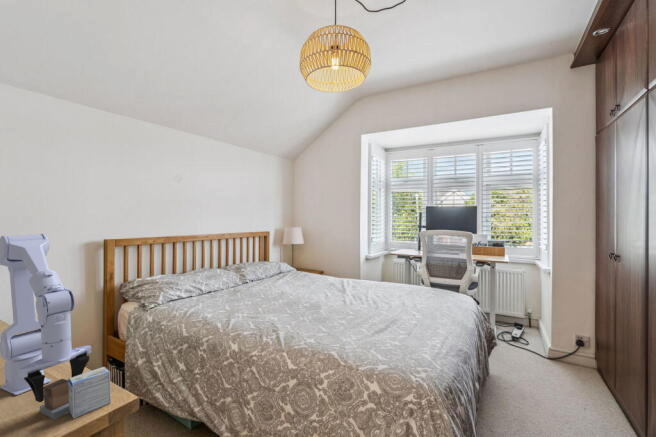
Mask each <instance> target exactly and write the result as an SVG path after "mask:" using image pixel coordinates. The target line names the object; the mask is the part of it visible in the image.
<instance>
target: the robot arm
mask: <svg viewBox="0 0 656 437" xmlns="http://www.w3.org/2000/svg"><path fill="white" fill-rule="evenodd" d="M49 250H50V239H49V237H48V236H47V234H45V233H38V234H21V235H1V236H0V266H3V267H7V269H8V274H9V282H10V294H11V305H12V321H13V323H12V324H11V325H9V326H8V327H6V329H4V330H3V331H2V332H1V334H0V356H1V358H2V359H3V360H5V363H4V385H2V386H1V385H0V389H2V390H4V391H5V392H8V393H10V394H12V395H15V396H18V395H20V394H23V393H25V392H28V391H30V390H31V391H32V393H33V395H34V396H33V397H34V399H35V401H36V402H38V403H42V402H44V390H43V387H44V386H45V385H47V384H48V383H50V382H51V380H52V379H51V378H48V377H46V375H45V373H44V372H45V371H44V370H47V369H49V368H51V367H56V365H59V364H64V363H67V362H69V364H70V369H71V371H70V372H71V378H72V377H75V376H78V375H80V374H83V373H84V371H85V368H86V367H87V365H88V362H90V356H89V355H90V354H91V353H92V346H91V345H88V344H86V345H83V346H78V347H75V348H73V347H72V324H71V323H72V320H71V319H72V318H71V317H72V316H71V312H72V311H73V310H74V309H75V304H76V303H75V296H74V293H73V291H72V290H71V289H70V288H68V287H67V286H64V284H63V283H62V281H61V279H60V276H59V274H58V273H57V271H55V270H52V269H50V267H49V263H48V260H47V257H46V256H47V255H48V252H49ZM36 314H37V319H36Z"/></svg>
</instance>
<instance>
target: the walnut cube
mask: <svg viewBox="0 0 656 437" xmlns="http://www.w3.org/2000/svg"><path fill="white" fill-rule="evenodd" d="M43 391H44V401H43V402H44V403H43V404H45V407H48V408H50V409H53V410H54V409H56V408H58V407H60V406H62V405H64V404H66V403H68V402H69V392H68V379H65V378H60V379H58V380H56V381H54V382H53V381H52V382H51V383H49V384H48V383H47V384H45V385H44V386H43Z"/></svg>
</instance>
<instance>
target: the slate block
mask: <svg viewBox="0 0 656 437" xmlns="http://www.w3.org/2000/svg"><path fill="white" fill-rule="evenodd" d="M39 412H40V413H41V414H43V415H45V416H46V417H49V418H50V419H52V420H57V419H58V418H60V417H62V416H64V415H66V414H68V413H70V411H69V402H68V403H66V404H64V405H62V406H60V407H58V408H56V409H54V410H53V409H50V408H48V407H45V404H44V403H43V404H41V405H39Z"/></svg>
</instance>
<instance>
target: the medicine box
mask: <svg viewBox="0 0 656 437" xmlns="http://www.w3.org/2000/svg"><path fill="white" fill-rule="evenodd" d="M67 380H68V392H69V411H70V412H69V413H70V414H71V416H72V418H73V419H77V418H79V417H81V416H84V415H85V414H88V413H91V412H93V411H95V410H98V409H99V408H102V407H104V406H105V407H106V406H107V405H110V404H111V403H112V396H111V394H112V393H111V391H112V390H111V371H109V369H108V368H107V367H105V366H102V367H99V368H95V369H92V370H90V371H87V372H83V373H82V374H80V375H78V376H75V377H72V376H71V377H69V378H68V379H67Z"/></svg>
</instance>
